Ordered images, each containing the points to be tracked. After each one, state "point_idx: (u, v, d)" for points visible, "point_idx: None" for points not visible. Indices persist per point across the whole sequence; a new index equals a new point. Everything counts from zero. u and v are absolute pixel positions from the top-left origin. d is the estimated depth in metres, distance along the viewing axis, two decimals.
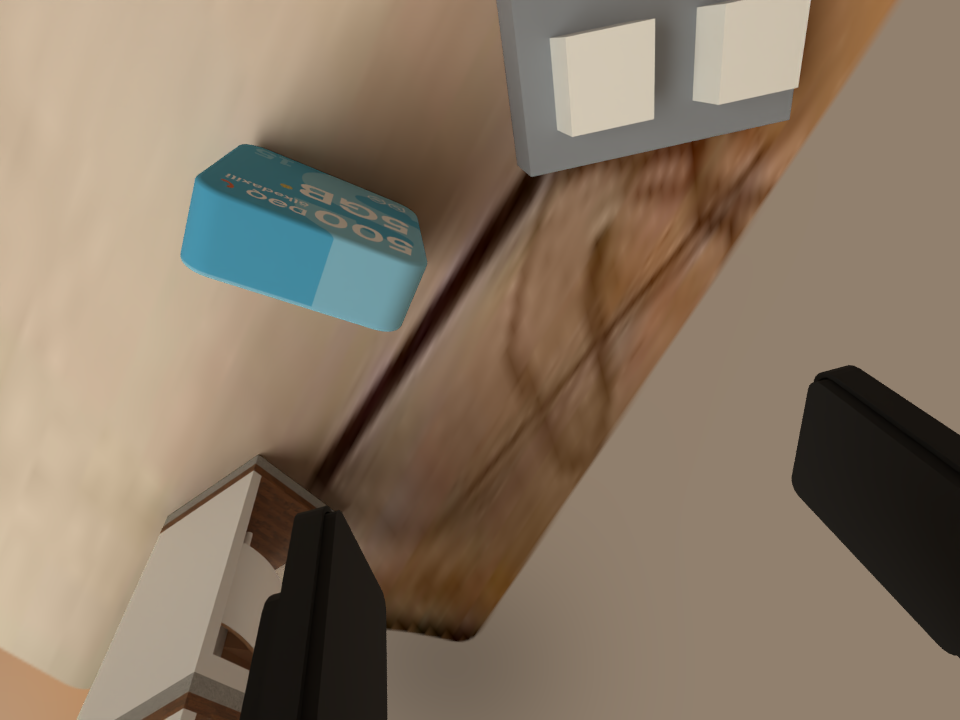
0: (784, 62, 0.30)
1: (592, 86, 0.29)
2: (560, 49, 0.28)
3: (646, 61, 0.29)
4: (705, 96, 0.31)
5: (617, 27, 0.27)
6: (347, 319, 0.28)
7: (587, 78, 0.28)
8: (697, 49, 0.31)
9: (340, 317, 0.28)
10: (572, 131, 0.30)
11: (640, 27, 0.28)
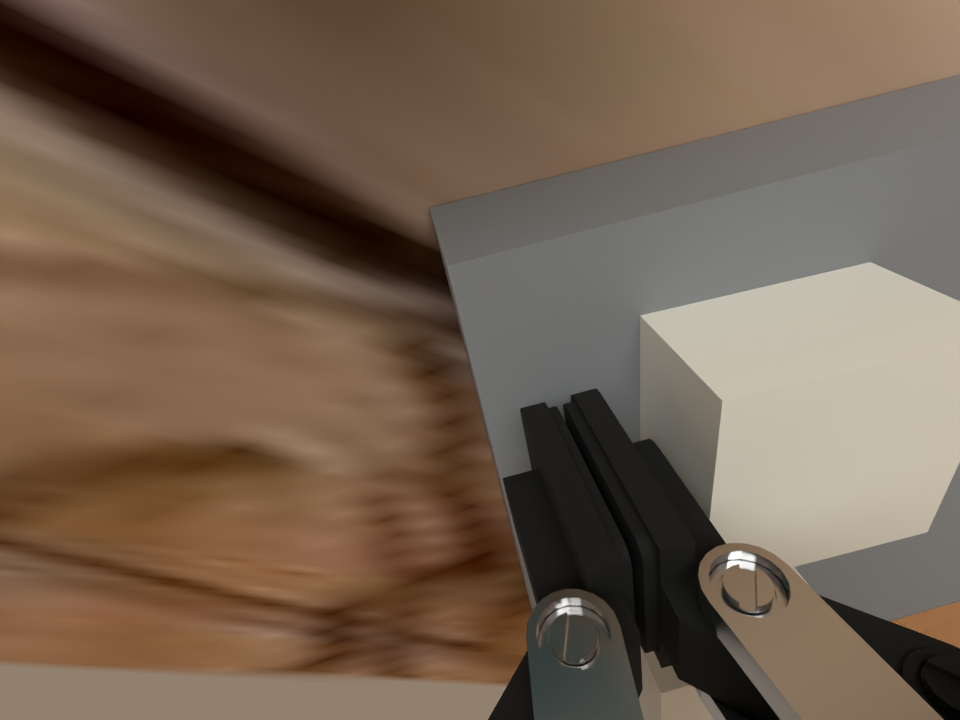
0: None
1: (849, 432, 0.09)
2: (932, 309, 0.09)
3: (844, 540, 0.10)
4: None
5: (958, 460, 0.10)
6: None
7: (878, 412, 0.09)
8: None
9: None
10: (738, 397, 0.08)
11: (929, 508, 0.10)
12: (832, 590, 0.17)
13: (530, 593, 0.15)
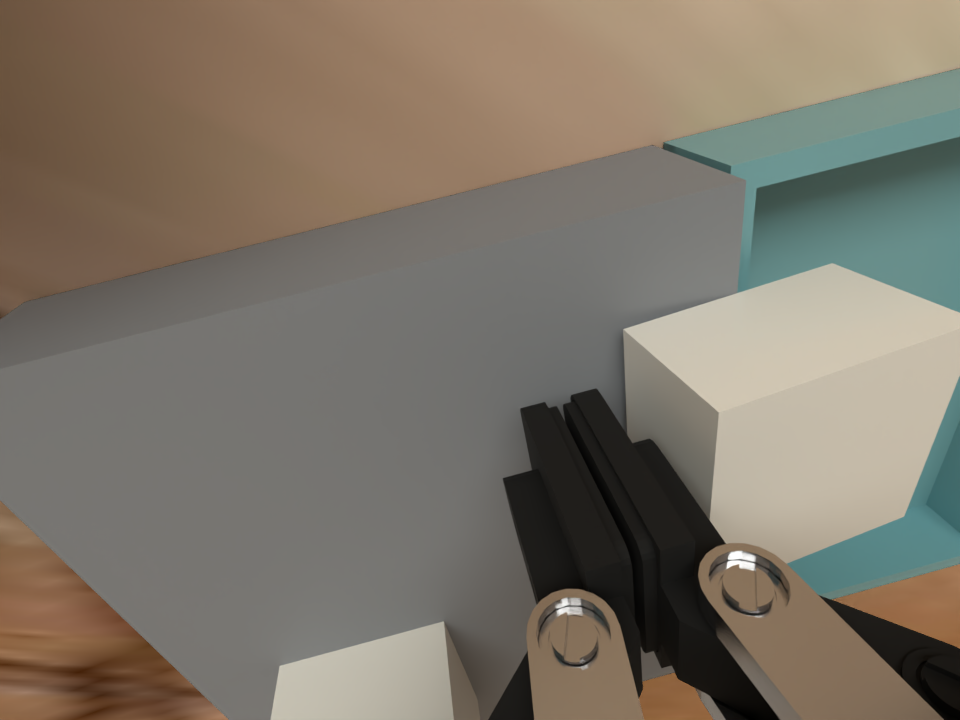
0: None
1: (834, 431, 0.09)
2: (898, 306, 0.09)
3: (832, 533, 0.11)
4: (282, 719, 0.14)
5: (929, 447, 0.10)
6: None
7: (859, 410, 0.09)
8: (373, 652, 0.15)
9: None
10: (733, 408, 0.08)
11: (904, 494, 0.11)
12: None
13: (184, 675, 0.15)
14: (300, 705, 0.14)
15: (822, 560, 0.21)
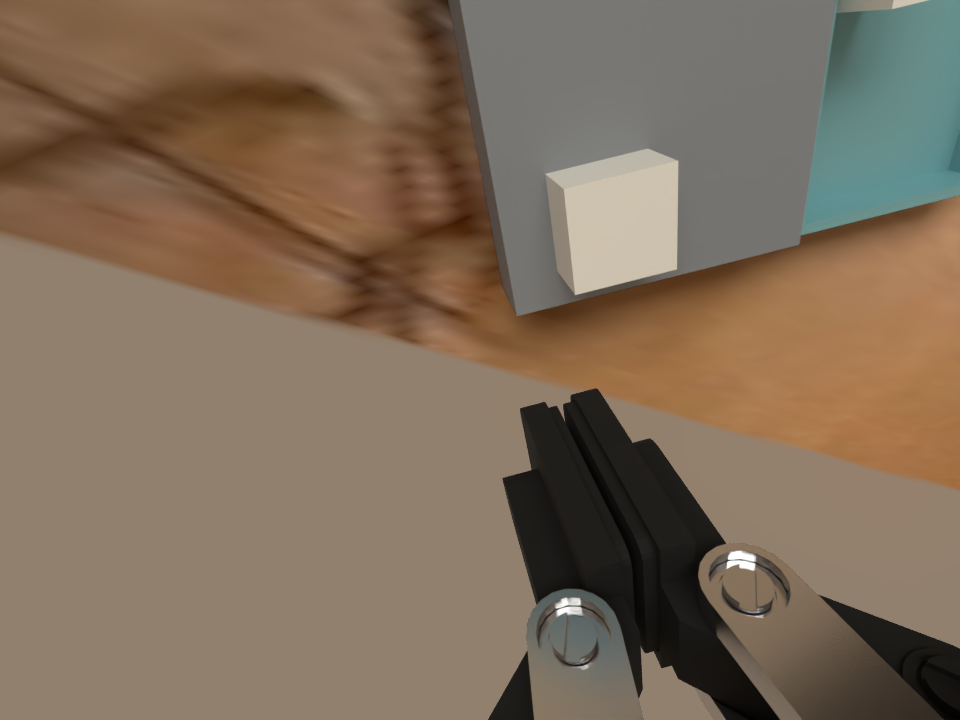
0: (604, 265, 0.24)
1: None
2: None
3: None
4: (561, 179, 0.23)
5: None
6: None
7: None
8: (606, 160, 0.24)
9: None
10: None
11: None
12: (696, 211, 0.26)
13: (491, 169, 0.24)
14: (570, 175, 0.23)
15: (875, 196, 0.30)
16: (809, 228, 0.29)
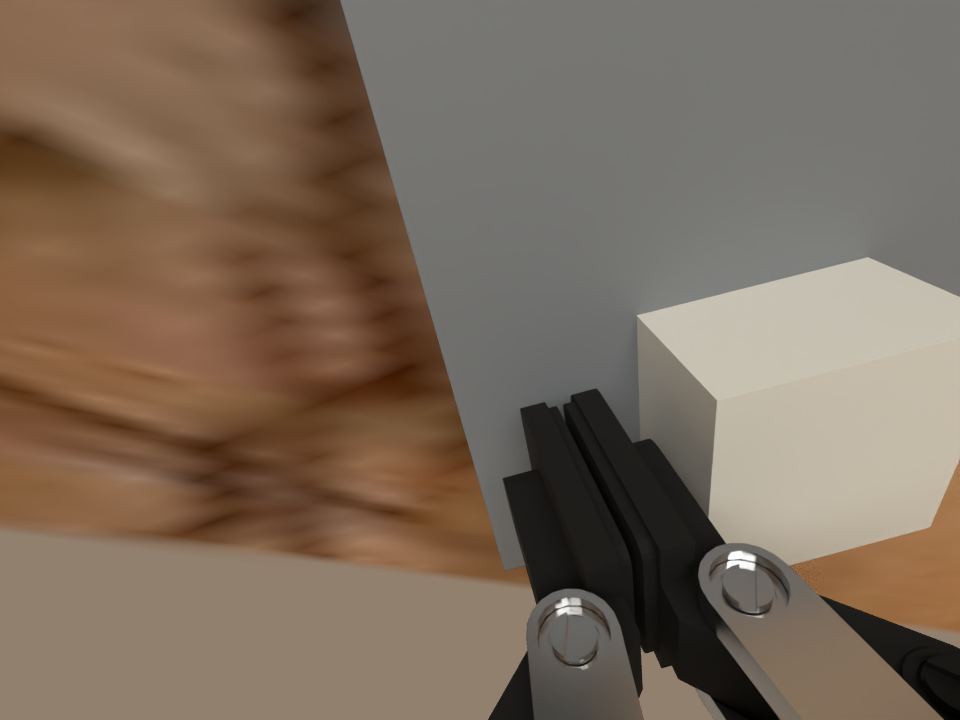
0: (779, 536, 0.10)
1: None
2: None
3: None
4: (689, 347, 0.09)
5: None
6: None
7: None
8: (780, 288, 0.10)
9: None
10: None
11: None
12: None
13: (437, 329, 0.10)
14: (708, 335, 0.09)
15: None
16: None
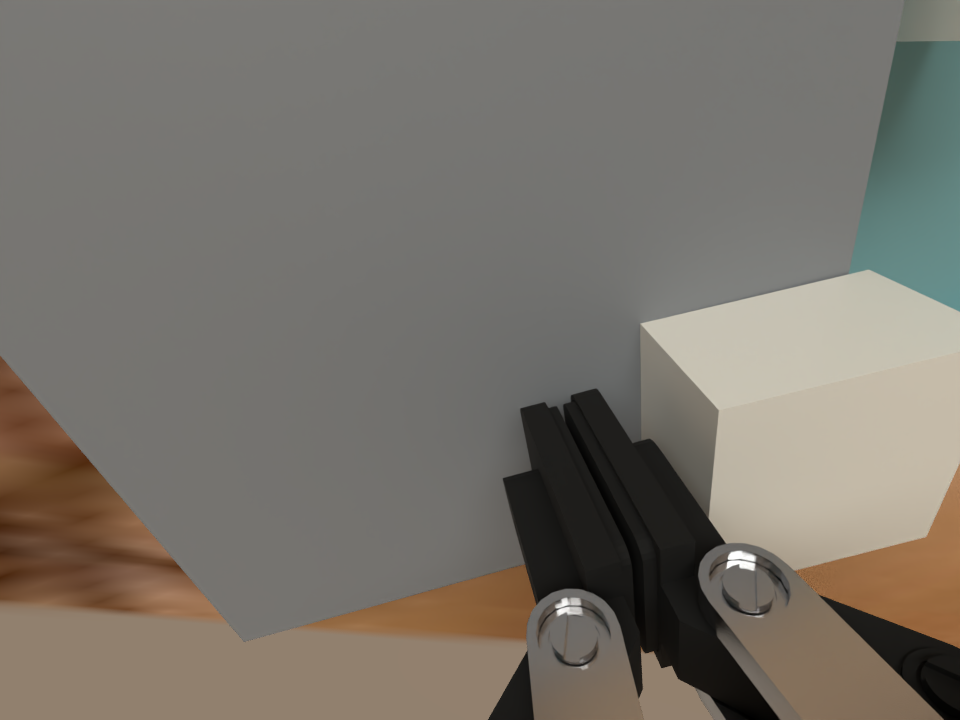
0: (777, 543, 0.10)
1: None
2: None
3: None
4: (692, 356, 0.09)
5: None
6: None
7: None
8: (782, 299, 0.10)
9: None
10: None
11: None
12: None
13: (62, 425, 0.10)
14: (710, 344, 0.10)
15: None
16: None
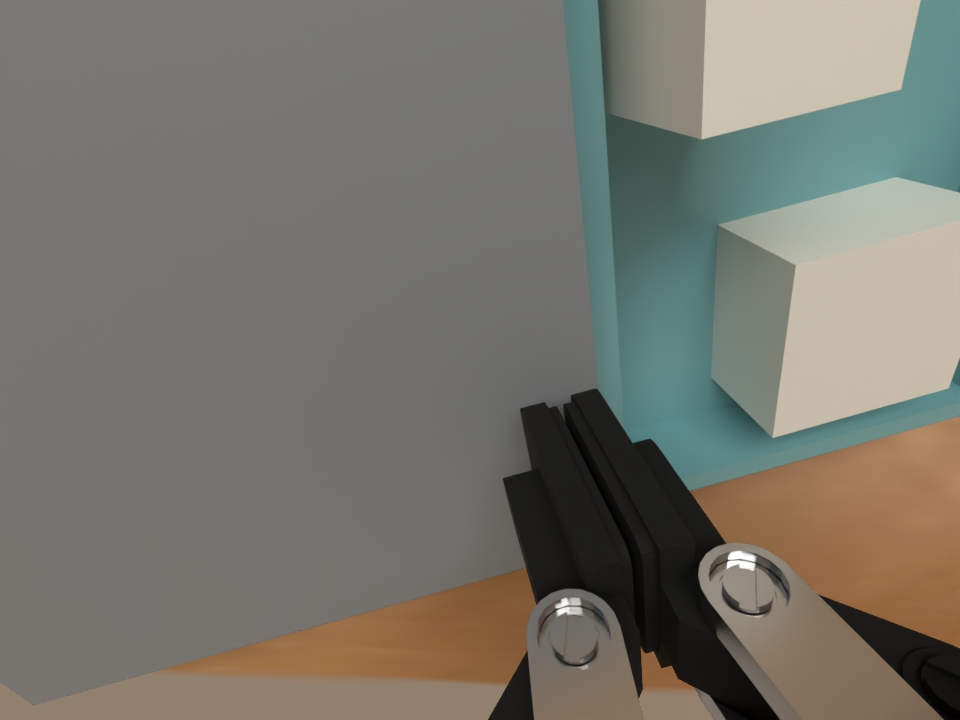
0: None
1: None
2: None
3: None
4: (935, 193, 0.12)
5: None
6: None
7: None
8: (877, 234, 0.11)
9: None
10: None
11: None
12: (363, 522, 0.12)
13: None
14: (925, 200, 0.12)
15: None
16: None
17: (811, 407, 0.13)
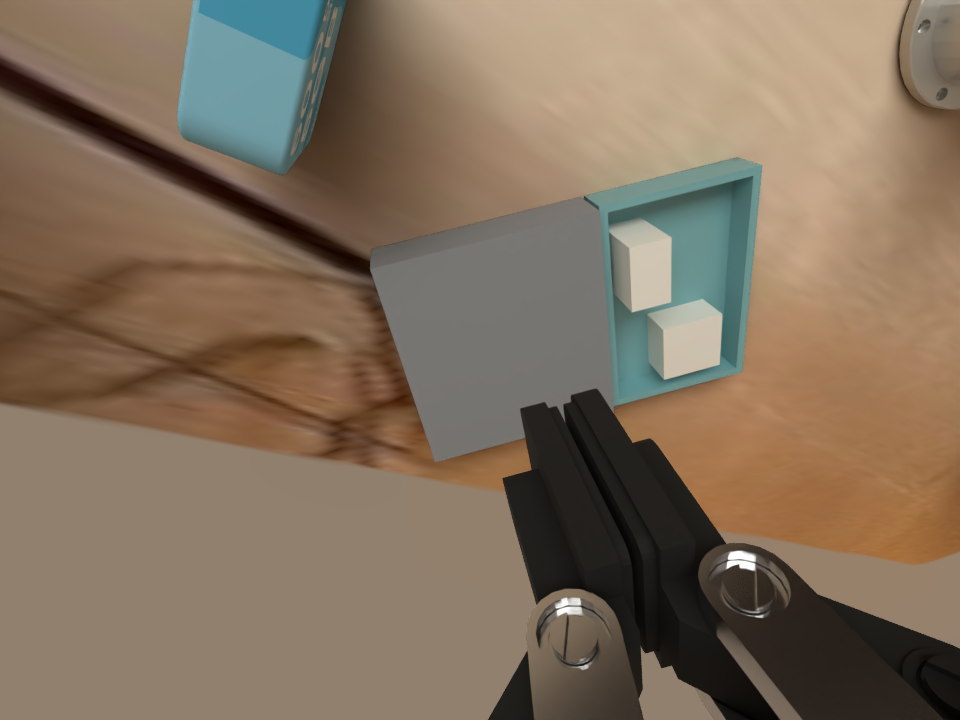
0: None
1: None
2: (630, 222, 0.39)
3: None
4: (708, 307, 0.43)
5: None
6: (187, 65, 0.21)
7: None
8: (686, 321, 0.42)
9: (188, 55, 0.20)
10: (669, 236, 0.35)
11: None
12: (542, 401, 0.42)
13: (411, 390, 0.40)
14: (704, 309, 0.42)
15: None
16: (623, 401, 0.45)
17: (675, 370, 0.44)
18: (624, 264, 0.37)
